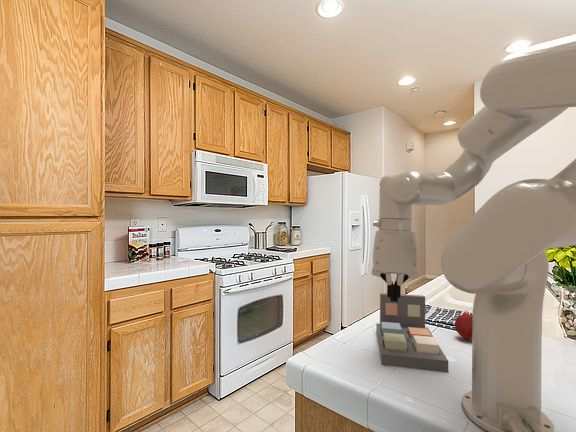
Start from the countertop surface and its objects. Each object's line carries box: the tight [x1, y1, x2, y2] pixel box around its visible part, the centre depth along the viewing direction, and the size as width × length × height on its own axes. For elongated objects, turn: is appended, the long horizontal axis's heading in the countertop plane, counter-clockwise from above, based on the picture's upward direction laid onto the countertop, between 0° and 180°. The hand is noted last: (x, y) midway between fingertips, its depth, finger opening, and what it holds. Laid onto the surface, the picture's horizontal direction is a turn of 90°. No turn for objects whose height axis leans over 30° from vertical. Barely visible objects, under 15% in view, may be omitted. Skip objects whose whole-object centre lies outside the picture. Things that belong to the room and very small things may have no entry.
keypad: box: [375, 292, 449, 373], centre depth 77 cm, size 20×14×12 cm
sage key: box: [384, 333, 407, 351], centre depth 74 cm, size 5×5×2 cm
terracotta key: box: [408, 327, 431, 339], centre depth 80 cm, size 5×5×2 cm
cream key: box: [413, 335, 440, 354], centre depth 72 cm, size 5×5×2 cm
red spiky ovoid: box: [454, 310, 473, 341], centre depth 83 cm, size 6×6×8 cm
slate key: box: [381, 322, 402, 336], centre depth 81 cm, size 5×5×2 cm
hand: (393, 300), depth 74 cm, fingers closed
